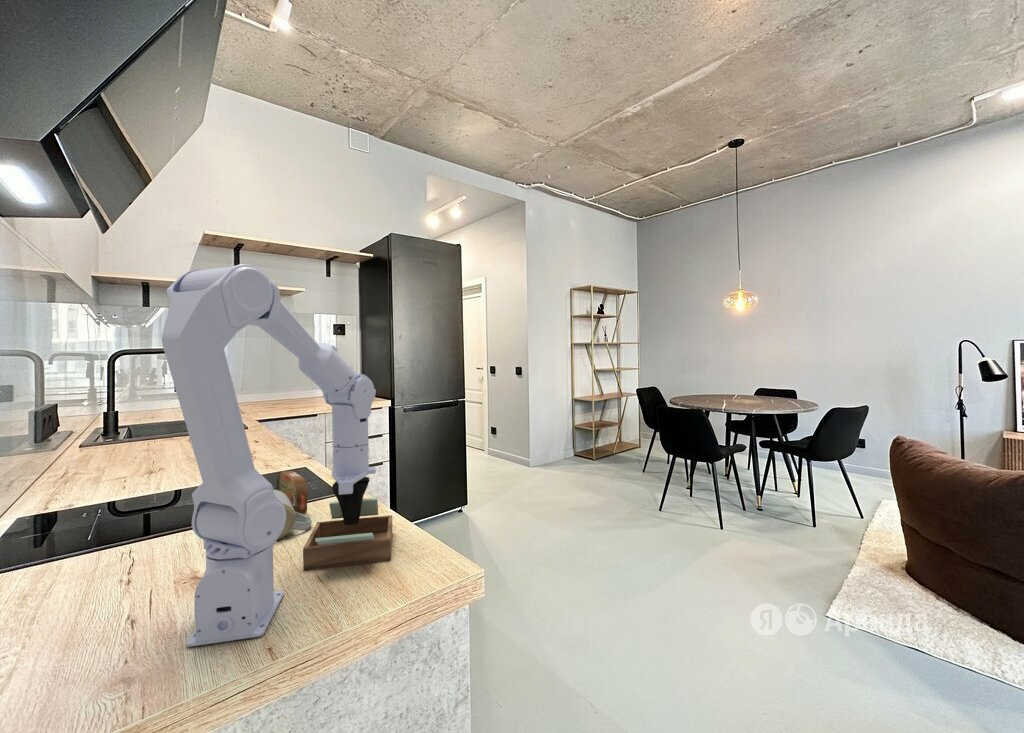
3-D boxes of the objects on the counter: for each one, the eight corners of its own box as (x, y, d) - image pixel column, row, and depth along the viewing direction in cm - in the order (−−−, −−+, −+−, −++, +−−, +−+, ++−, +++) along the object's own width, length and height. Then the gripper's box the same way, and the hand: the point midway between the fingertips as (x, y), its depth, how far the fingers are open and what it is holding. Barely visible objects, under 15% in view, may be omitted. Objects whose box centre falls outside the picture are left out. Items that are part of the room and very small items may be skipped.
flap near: (320, 541, 67) (320, 545, 67) (315, 537, 63) (315, 541, 63) (374, 536, 69) (374, 539, 69) (372, 532, 65) (372, 535, 65)
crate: (390, 560, 69) (390, 539, 69) (303, 570, 66) (302, 548, 66) (392, 533, 80) (392, 515, 80) (317, 540, 77) (317, 522, 77)
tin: (275, 505, 95) (274, 468, 95) (290, 502, 97) (289, 465, 97) (293, 525, 84) (293, 483, 84) (310, 521, 86) (310, 479, 86)
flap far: (378, 515, 79) (378, 513, 80) (377, 500, 77) (377, 497, 77) (331, 519, 77) (332, 517, 78) (329, 503, 75) (329, 501, 75)
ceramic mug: (251, 548, 74) (251, 504, 74) (244, 533, 80) (244, 492, 80) (316, 533, 81) (316, 493, 80) (305, 520, 87) (306, 483, 87)
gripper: (372, 452, 67) (373, 538, 67) (378, 435, 81) (378, 506, 81) (323, 454, 65) (324, 543, 65) (338, 437, 79) (339, 509, 79)
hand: (351, 523), depth 73 cm, fingers closed
